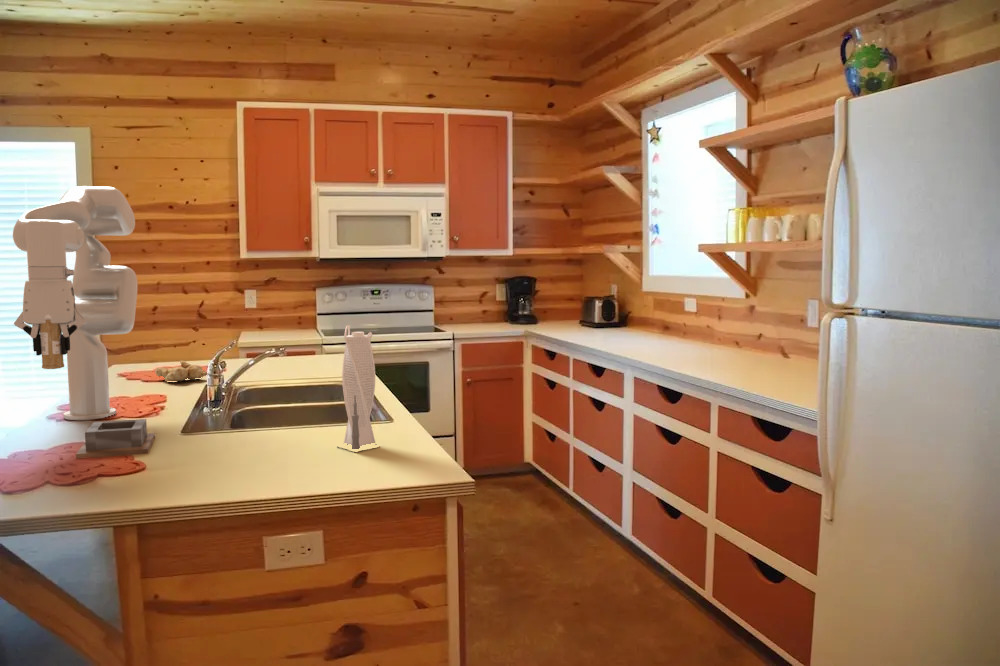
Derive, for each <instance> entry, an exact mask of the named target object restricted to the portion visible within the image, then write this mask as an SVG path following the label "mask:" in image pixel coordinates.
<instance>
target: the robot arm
mask: <svg viewBox="0 0 1000 666" xmlns="http://www.w3.org/2000/svg"><path fill="white" fill-rule="evenodd" d="M135 227H136V217H135V213H134V211H133V209H132V207H131V205H130V203H129V202H128V200H127V198H126V197H125V195H124V194H123V193H122V191H121V190H120V189H118V188H116V187H112V186H90V185H89V186H87V185H82V186H81V185H80V186H75V187H74V186H73V187H71V188H69V189H68V190H67V191H66V192H65V193H63V196H62V197H60V199H59V200H58V202H55V203H54V202H53V203H50V204H46V205H43V206H39V207H36V208H33V209H30V210H28V211H25V212H24V213H23V214H22V215H21V216H20V217H19V219H17V221H16V222H15V224H14V226H13V230H12V239H13V243H14V245H15V246H16V247H17V248H18V249H19V250H20V251H24V252H26V257H27V275H28V280H25V283H24V289H23V296H22V297H23V299H22V312H21V313H20V314H19V316H18V317H17V318H16V319H15V321H14V323H13V325H14V326H15V327H17V328H19V329H21V330H22V331H24V332H25V334H28V335H29V336H30V337H31V338H32V344H33V345H32V347H33V348H32V349H33V352H35V354H36V356H42V354H41V341H40V325H42V324H44V323H46V321H45V320H51V321H50V322H52V323H54V324H60V327H61V330H62V338H61V353H62V354H63V356H64V355H66V363H67V378H68V379H67V380H68V381H67V382H68V401H69V402H68V403H69V404H68V405H69V410H68V411H66V412H63V414H62V415H63V416H62V417H63V419H64V420H69V421H90V420H99V419H106V418H109V417H108V416H110V417H112V416H111V415H113V414H115V413H116V414H117V409H116V408H114V407H110V405H111V404H110V385H109V364H108V363H109V360H108V350H107V348H106V346H105V344H104V343H103V342H102V341H101V340H100V339H99V337H97V336H101V335H125V334H129V333H130V332H132V330H133V328H134V326H135V321H136V320H135V319H136V310H137V301H138V286H139V285H138V277H137V274H136V272H135V271H134V269H132V268H131V267H129V266H125V265H111V259H112V258H111V257H112V256H111V252H110V250H108V248H107V247H106V246H105V245H104V244H103V243H102V242H101V241H99V239H97V238H96V236H111V237H112V236H113V237H114V236H119V237H123V236H129V235H131V234H132V233H133V231H134V230H135ZM74 252H75V263H74V268H73V269H70V268H68V266H67V254H66V253H74ZM71 276H72V280H70V279H69V280H68V278H69V277H71ZM76 298H77V299H76ZM46 315H50V316H51V319H44V318H45V316H46ZM31 325H32V326H31ZM116 414H115V415H116ZM113 416H114V415H113ZM105 417H106V418H105Z"/></svg>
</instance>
